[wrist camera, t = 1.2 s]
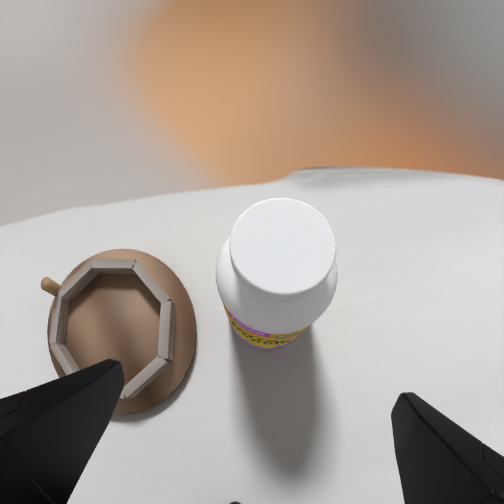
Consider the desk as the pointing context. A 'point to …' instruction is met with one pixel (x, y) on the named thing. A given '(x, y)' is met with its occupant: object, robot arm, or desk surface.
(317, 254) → the supplement bottle
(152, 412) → the desk surface
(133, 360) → the collar plate
